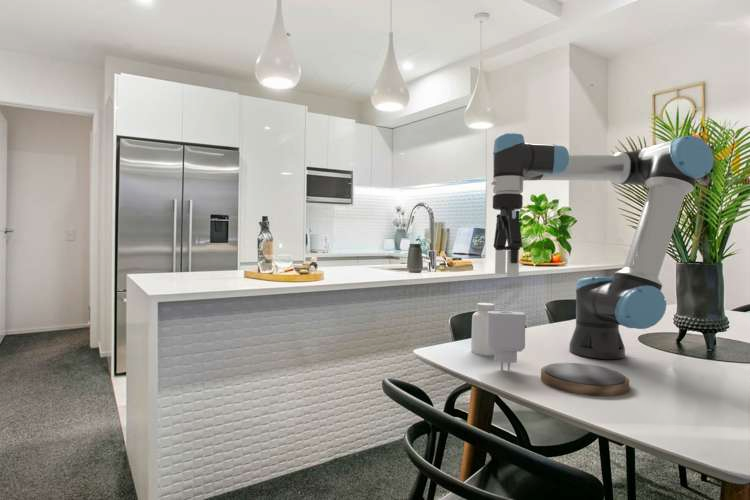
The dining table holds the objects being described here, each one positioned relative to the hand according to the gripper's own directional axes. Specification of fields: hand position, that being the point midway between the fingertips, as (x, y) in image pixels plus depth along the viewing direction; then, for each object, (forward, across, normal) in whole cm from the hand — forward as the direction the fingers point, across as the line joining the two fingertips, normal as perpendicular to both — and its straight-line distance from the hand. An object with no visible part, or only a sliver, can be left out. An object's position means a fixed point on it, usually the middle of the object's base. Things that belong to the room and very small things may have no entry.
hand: (506, 275), depth 117 cm
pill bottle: (+25, -18, -2) cm, 31 cm away
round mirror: (+25, +10, +16) cm, 31 cm away
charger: (+25, 0, 0) cm, 25 cm away
